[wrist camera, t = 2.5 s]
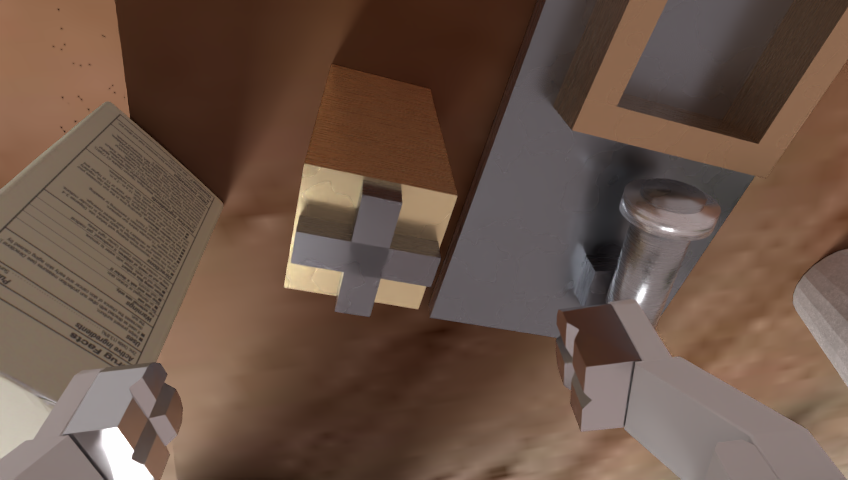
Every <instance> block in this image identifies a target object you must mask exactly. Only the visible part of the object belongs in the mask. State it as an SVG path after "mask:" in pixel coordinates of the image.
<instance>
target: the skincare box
mask: <svg viewBox="0 0 848 480" xmlns="http://www.w3.org/2000/svg"><path fill="white" fill-rule="evenodd" d="M222 209H223V203H222V201H221V200H220V199H219V198H218V197H216V196H215V195H214V194H213V193H212V192H211V191H210V190H209V189H208V188H207V187H206V186H205V185H204V184H203V183H202V182H201V181H200V180H199V179H198V178H196V177H195V176H194V175H193V174H192V173H191V172H190V171H189V170H188V169H186V168H185V167H184V166H183V165H182V164H181V163H180V162H179V161H178V160H177V159H175V158H174V157H173V156H172V155H171V154H170V153H169V152H168V151H167V150H165V149H164V148H163V147H162V146H161V145H160V144H159V143H158V142H156V141H155V140H154V139H153V138H152V137H151V136H149V135H148V134H147V133H146V132H145V131H144V130H143V129H141V128H140V127H139V126H138V125H137V124H136V123H135V122H133V121H132V120H131V119H130V118H129V117H127V116H126V115H125V114H124V113H123V112H122V111H121V110H119V109H118V108H117V107H116V106H115V105H114V104H112V103H111V102H105V103H103V104H102V105H101V106H100V107H98V108H97V109H96V110H94V111H93V112H92V113H91V114H89V115H88V116H87V117H86V118H84V119H83V120H82V121H81V122H79V123H78V124H77V125H76V126H75V127H74V128H72V129H71V130H70V131H69V132H68V133H67V134H65V135H64V136H63V137H62V138H61V139H59V140H58V141H57V142H56V143H55V144H53V145H52V146H51V147H50V148H48V149H47V150H46V151H45V152H44V153H42V154H41V155H40V156H39V157H38V158H36V159H35V160H34V161H33V162H32V163H31V164H29V165H28V166H27V167H26V168H25V169H24V170H23V171H21V172H20V173H19V174H18V175H17V176H16V177H14V178H13V179H12V180H11V181H10V182H9V183H7V184H6V185H5V186H4V187H3V188H2V189H0V459H1V458H3V457H4V456H5V455H7V454H8V453H9V452H11V451H12V450H13V449H15V448H16V447H17V446H19V445H20V444H21V443H23V442H24V441H27V440H33V439H34V437H35V436H36V434H37V433H38V431H39V430H40V428H41V426H42V425H43V423H44V422H45V420H46V419H47V417H48V416H49V414H50V412H51V411H52V409H53V408H54V406H55V405H56V403H57V402H58V400H59V398H60V397H61V395H62V394H63V392H64V391H65V389H66V388H67V386H68V384H69V383H70V381H71V380H72V378H73V377H74V375H76V374H77V373H79V372H80V371H82V370H90V369H100V368H106V367H114V366H123V365H133V364H142V363H151V362H155V363H156V361H157V359H158V357H159V354H160V352H161V350H162V348H163V345H164V343H165V341H166V338H167V336H168V334H169V331H170V329H171V326H172V324H173V322H174V319H175V317H176V315H177V313H178V311H179V308H180V306H181V304H182V301H183V299H184V297H185V295H186V292H187V290H188V288H189V285H190V283H191V280H192V278H193V276H194V273H195V271H196V269H197V267H198V264H199V262H200V260H201V257H202V255H203V253H204V250H205V248H206V246H207V244H208V241H209V239H210V237H211V234H212V232H213V230H214V227H215V225H216V223H217V221H218V218H219V216H220V214H221V211H222Z"/></svg>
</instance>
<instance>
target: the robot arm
mask: <svg viewBox="0 0 848 480" xmlns="http://www.w3.org/2000/svg"><path fill="white" fill-rule="evenodd" d="M556 324H557V327H558V329H559V332H560V334H561V335H560V336H559V337H558V338H557V339H556V357H557V365H558V369H559V372H560V376H561V379H562V382H563V385H564V386H565V387H567V388H568V389H569V390H571V399H570V404H571V407H572V409H573V412H574V415H575V417H576V420H577V423H578V425H579V428H580V431H581V432H582V431H592V430H602V429H612V428H622V427H625V430H626V431H627V432H628V433H629V434H630V435H631V436H633V437H634V438H635V439H636V440H637V441H638V442H639V443H641V444H642V445H643V446H644V447H645V448H646V449H647V450H648V451H650V452H651V453H652V454H653V455H654V456H655V457H656V458H658V459H659V460H660V461H661V462H662V463H663V464H664V465H666V466H667V467H668V468H669V469H670V470H671V471H672V472H673V473H675V474H676V475H677V476H678V477H679V478H680V479H681V480H847V479H846V478H845V477H844V475H843V474H842V473H841V472H840V470H839V469H838V468H837V466H836V465H835V464H834V463H833V461H832V460H831V459H830V458H829V456H828V455H827V454H826V452H825V451H824V450H823V449H822V447H821V446H820V445H819V443H818V442H817V441H816V440H815V438H814V437H813V436H812V435H811V433H810V432H809V431H808V429H806V428H804V427H802V426H801V425H799V424H797V423H795V422H794V421H792V420H790V419H788V418H787V417H785V416H783V415H781V414H780V413H778V412H776V411H774V410H773V409H771V408H769V407H767V406H766V405H764V404H762V403H760V402H759V401H757V400H755V399H753V398H752V397H750V396H748V395H746V394H745V393H743V392H741V391H739V390H738V389H736V388H734V387H732V386H731V385H729V384H727V383H725V382H724V381H722V380H720V379H718V378H717V377H715V376H713V375H711V374H710V373H708V372H706V371H704V370H703V369H701V368H699V367H697V366H696V365H694V364H692V363H690V362H689V361H687V360H685V359H683V358H682V357H672V356H671V355H670V353H669V351H668V350H667V348H666V347H665V345H664V343H663V342H662V340H661V339H660V337H659V336H658V334H657V332H656V331H655V329H654V328H653V326H652V324H651V323H650V321H649V320H648V318H647V316H646V315H645V313H644V312H643V310H642V308H641V307H640V305H639V304H638V302H637V301H636V300H634V299H628V300H621V301H614V302H608V303H601V304H594V305H587V306H579V307H572V308H565V309H559V310H558V313H557V323H556ZM166 377H167V373H166V371H165V370H164V368H163V367H162V365H161V364H160V363H155V362H151V363H142V364H133V365H123V366H114V367H106V368H100V369H90V370H82V371H80V372H79V373H77V374H76V375H74V377H73V378H72V380H71V381H70V383H69V384H68V386H67V388H66V389H65V391H64V392H63V394H62V395H61V397H60V398H59V400H58V402H57V403H56V405H55V406H54V408H53V409H52V411H51V412H50V414H49V416H48V417H47V419H46V420H45V422H44V423H43V425H42V426H41V428H40V430H39V431H38V433H37V434H36V436H35V437H34V439H33V440H27V441H24V442H23V443H21V444H20V445H19V446H17V447H16V448H15V449H13V450H12V451H11V452H9V453H8V454H7V455H5V456H4V457H3V458H1V459H0V480H160V479H161V477H162V474H163V472H164V469H165V466H166V464H167V461H168V458H169V456H170V454H169V451H168V449H167V447H166V445H167V444H168V443H169V442H171V441H172V440H173V439H174V438H175V437H176V436H177V435H178V432H179V429H180V426H181V423H182V412H183V407H182V402H181V398H180V396H179V394H178V392H177V390H176V389H175V388H173V387H171V386H169V385H167V384H166V383H164V382H165V379H166Z"/></svg>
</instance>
